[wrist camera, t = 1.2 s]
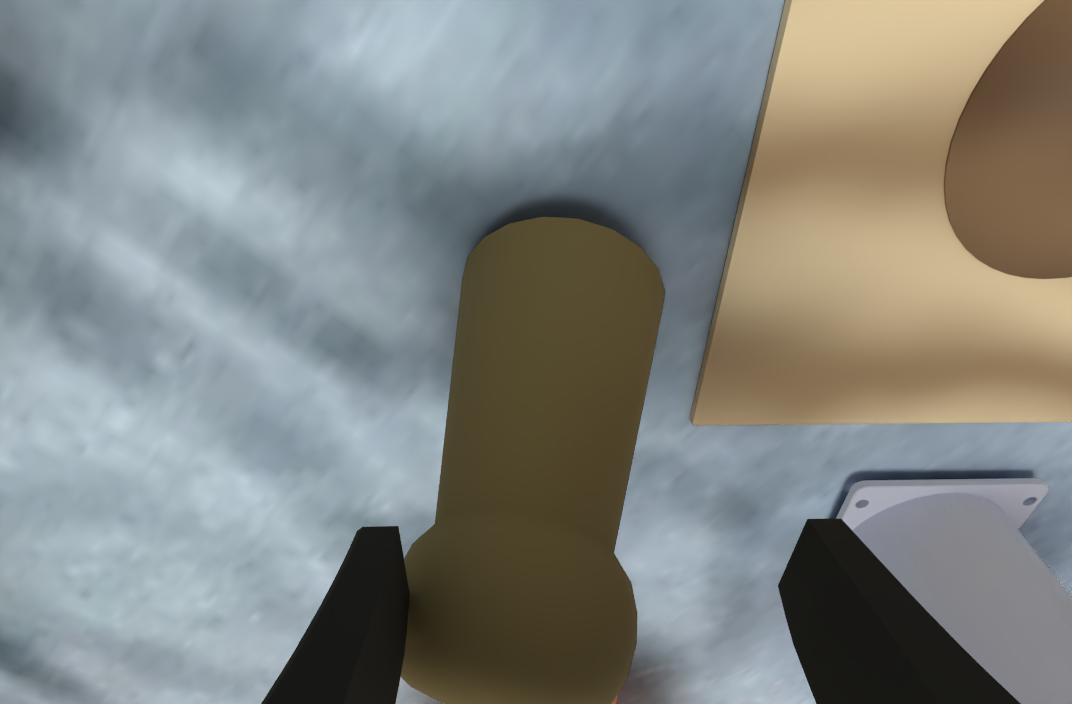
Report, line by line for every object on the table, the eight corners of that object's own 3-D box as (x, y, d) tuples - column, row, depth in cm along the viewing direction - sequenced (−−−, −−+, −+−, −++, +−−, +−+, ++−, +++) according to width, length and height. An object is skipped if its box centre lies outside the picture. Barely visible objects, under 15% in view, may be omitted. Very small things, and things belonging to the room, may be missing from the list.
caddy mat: (1104, 414, 24) (1114, 423, 24) (689, 417, 23) (692, 427, 23) (1591, -224, 13) (1624, -227, 13) (843, -252, 12) (854, -256, 12)
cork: (563, 378, 22) (514, 740, 15) (423, 286, 19) (289, 681, 13) (708, 305, 18) (723, 748, 12) (559, 176, 15) (467, 664, 9)
